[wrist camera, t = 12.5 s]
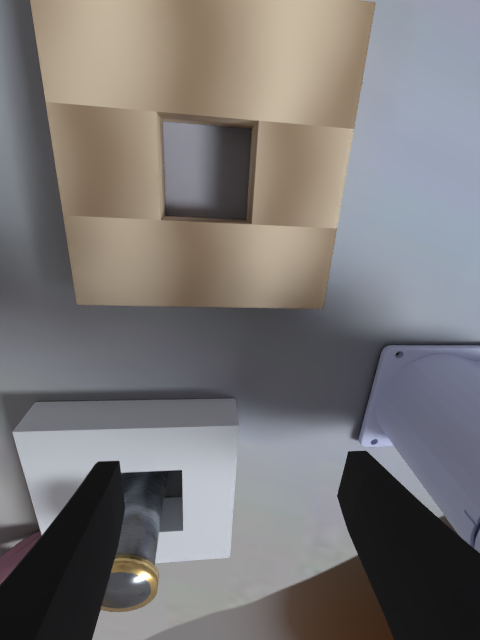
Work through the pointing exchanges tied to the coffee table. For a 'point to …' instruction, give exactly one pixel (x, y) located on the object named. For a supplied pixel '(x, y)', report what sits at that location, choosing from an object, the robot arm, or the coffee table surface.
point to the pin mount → (207, 109)
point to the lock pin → (137, 543)
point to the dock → (140, 462)
